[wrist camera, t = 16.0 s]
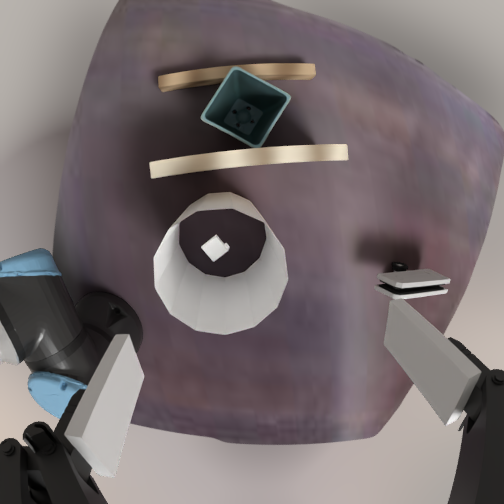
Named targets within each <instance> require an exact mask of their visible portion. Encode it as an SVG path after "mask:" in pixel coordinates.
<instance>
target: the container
mask: <svg viewBox="0 0 504 504" xmlns="http://www.w3.org/2000/svg"><path fill="white" fill-rule="evenodd" d="M232 208H233V209H235V210H237V211H239V212H242V213H244V214H246V215H248V216H251V217H253V218H255V219H257V220H260V221H262V222H264V226H265V232H266V241H265V244H264V247H263V250H262V252H261V255H260V258H259V259H258V260H257V261H256V262H254V263H253V264H252V265H251V266H250V267H249V268H248V269H247V270H246V271H245V272H242V273H238V274H235V275H232V276H228V277H220V276H213V275H207V274H204V273H203V272H201V271H200V270H199V269H197V268H196V267H194V266H193V265H192V264H190V263H189V262H188V260H187V258H186V256H185V255H184V253H183V251H182V249H181V247H180V245H179V223H180V222H181V221H182V220H184V219H185V218H187V217H188V216H190V215H192V214H193V213H195V212H196V211H203V210H217V209H232ZM201 248H202V249H203V250H204V252H205V253H206V254H207V255H208V256H209V257H210V259H211V260H212V261H213V262H214V261H216V260H217V259H218V258H219V257H221V256H222V255H223V254H225V253H226V252H227V251H229V248H230V247H229V245H228V244H227V243H225V244H224V243H223V242H222V240H221V239H220V238H219V237H218V236H217V234H216V235H215V236H214V237H212V238H211V239H210V240H209V241H207V242H206V243H205V244H204V245H202V246H201ZM154 280H155V289H156V291H157V293H158V294H159V296H160V298H161V299H162V301H163V303H164V304H165V306H166V308H167V309H168V311H169V313H170V314H171V315H173V316H174V317H176V318H177V319H179V320H180V321H182V322H183V323H185V324H186V325H188V326H189V327H191V328H193V329H194V330H196V331H202V332H209V333H216V334H223V335H227V334H231V333H235V332H238V331H242V330H245V329H249V328H252V327H255V326H256V325H257V324H259V323H260V322H261V321H262V320H263V319H264V318H266V317H267V316H268V315H269V314H270V313H271V312H272V311H274V310H275V309H276V308H277V307H278V304H279V302H280V299H281V297H282V294H283V292H284V289H285V287H286V284H287V282H288V273H287V265H286V258H285V250H284V248H283V246H282V245H281V243H280V242H279V240H278V239H277V237H276V236H275V234H274V233H273V231H272V230H271V228H270V227H269V226H268V224H267V223H266V221H265V220H264V218H263V217H262V216H261V214H260V213H259V212H258V210H257V209H256V208H255V206H254V205H253V204H252V202H251V201H249V200H247V199H245V198H243V197H241V196H238V195H236V194H234V193H232V192H221V193H208V194H207V195H205V196H203V197H202V198H200V199H198V200H197V201H195V202H194V203H192V204H190V205H189V206H188V208H187V209H186V210H185V211H184V212H183V213H182V214H181V215H180V217H179V218H178V219H177V220H176V221H175V222H174V224H173V225H172V226H171V227H170V228H169V229H168V231H167V233H166V235H165V237H164V239H163V241H162V243H161V244H160V246H159V248H158V250H157V252H156V254H155V256H154Z"/></svg>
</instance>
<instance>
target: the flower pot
mask: <svg viewBox="0 0 504 504" xmlns="http://www.w3.org/2000/svg"><path fill="white" fill-rule="evenodd" d="M290 99H291V96H290V95H289V94H288V93H286V92H284V91H282V90H281V89H279V88H277V87H275V86H273V85H271V84H270V83H268V82H266V81H264V80H262V79H260V78H259V77H257V76H255V75H253V74H251V73H249V72H247V71H245V70H244V69H242V68H240V67H237V66H233V67H232V68H231V70H230V71H229V73H228V74H227V76H226V77H225V79H224V80H223V82H222V83H221V85H220V87H219V88H218V89H217V91H216V93H215V94H214V96H213V97H212V99H211V101H210V102H209V104H208V105H207V107H206V108H205V110H204V111H203V113H202V115H201V120H202V121H204V122H206V123H208V124H210V125H212V126H214V127H216V128H218V129H220V130H222V131H223V132H225V133H227V134H229V135H231V136H233V137H235V138H236V139H238V140H240V141H242V142H244V143H245V144H247V145H249V146H250V147H252V148H261V147H262V145H263V143H264V142H265V140H266V138H267V136H268V135H269V133H270V131H271V130H272V128H273V126H274V125H275V123H276V121H277V120H278V118H279V117H280V115H281V114H282V112H283V110H284V109H285V107H286V106H287V104H288V103H289V101H290ZM247 107H250V110H247ZM234 110H235V111H236V113H233V111H234ZM251 120H253V121H254V123H251ZM237 124H240V126H239V127H238V126H237Z"/></svg>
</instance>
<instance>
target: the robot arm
mask: <svg viewBox="0 0 504 504" xmlns="http://www.w3.org/2000/svg"><path fill="white" fill-rule="evenodd" d="M61 276H62V274H61V272H59V270H58V268H57V266H56V264H55V262H54V259H53V257H52V255H51V253H50V252H49V251H48V250H46V249H42V248H39V249H36V250H32V251H29V252H26V253H23V254H20V255H17V256H14V257H12V258H9V259H6V260H4V261H1V262H0V364H1V363H9V364H13V365H18V364H19V363H21V362H22V361H23V360H24V361H25V363H26V364H27V366H28V367H29V369H30V370H31V372H32V374H31V375H30V376H29V378H28V379H29V380H28V389H29V392H30V394H31V396H32V397H33V398H34V400H35V401H36V402H37V403H38V404H39V405H40V406H41V407H42V408H44V410H46V411H47V412H49V413H50V414H52V415H53V416H55V417H57V418H59V419H60V420H59V422H58V424H57V426H56V428H55V430H54V432H53V431H52V429H51V428H50V427H49V425H48V424H46V423H45V422H39V421H38V422H34V423H32V424H30V425H29V426H28V427H27V428H26V429H25V431H24V433H23V440H24V441H25V442H26V444H27V445H28V446H22V445H21V444H20V443H19V442H18V441H17V440H16V439H14V438H8V439H5V440H4V441H2V442H1V444H0V504H108V503H107V501H106V500H105V498H104V496H103V495H102V493H101V491H100V490H99V488H98V486H97V484H96V483H95V481H94V479H93V478H92V476H91V475H90V472H91V469H93V470H94V471H95V472H96V473H97V474H98V475H101V476H106V477H112V478H115V476H116V472H117V468H118V464H119V460H120V457H121V452H122V449H123V445H124V442H125V438H126V434H127V431H128V427H129V424H130V421H131V418H132V414H133V411H134V408H135V404H136V401H137V398H138V395H139V392H140V388H141V385H142V382H143V379H144V374H143V371H142V369H141V366H140V363H139V361H138V358H137V355H136V353H137V352H138V350H139V348H140V345H141V343H142V339H143V329H142V325H141V322H140V320H139V318H138V316H137V314H136V313H135V312H134V310H133V309H132V308H131V307H130V306H129V305H128V304H127V303H126V302H125V301H123V300H122V299H120V298H118V297H117V296H115V295H112V294H109V293H105V292H93V293H89V294H87V295H85V296H84V297H83V298H82V299H81V300H80V301H79V302H78V303H77V304H76V305H75V306H74V304H73V302H72V300H71V297H70V295H69V293H68V291H67V288H66V286H65V284H64V282H63V279H62V277H61ZM384 345H385V347H386V348H387V349H388V350H389V352H390V353H391V354H392V355H393V357H394V358H395V359H396V361H397V362H398V363H399V364H400V366H401V367H402V368H403V370H404V371H405V372H406V373H407V375H408V376H409V377H410V379H411V380H412V381H413V383H414V384H415V385H416V386H417V388H418V389H419V391H420V392H421V393H422V395H423V396H424V397H425V398H426V400H427V401H428V403H429V404H430V405H431V407H432V408H433V409H434V411H435V412H436V414H437V415H438V416H439V418H440V419H441V420H442V422H443V423H444V425H445V426H446V425H448V424H450V423H452V422H454V421H456V420H458V419H459V417H460V415H461V413H462V412H463V410H464V411H465V412H466V413H467V415H466V417H465V419H464V420H463V422H462V424H461V426H460V428H459V430H458V431H460V430H461V429H462V428H463V426H464V429H463V437H462V443H461V449H460V455H459V460H458V465H457V470H456V474H455V478H454V483H453V486H452V490H451V494H450V498H449V501H448V504H504V371H503V370H499V369H493V370H489V369H488V368H487V367H486V366H485V365H484V364H483V363H482V362H481V361H480V360H479V359H478V358H477V357H476V356H475V355H474V354H471V352H470V351H469V350H468V349H466V347H465V346H464V345H463V344H462V343H461V342H459V341H457V340H455V339H453V338H451V337H450V338H448V339H447V338H446V337H445V336H444V335H443V334H442V333H441V332H439V331H438V330H437V329H436V328H435V327H434V326H433V325H432V324H431V323H429V322H428V321H427V320H426V319H425V318H424V317H423V316H422V315H421V314H419V313H418V312H417V311H416V310H415V309H414V308H413V307H411V306H410V305H409V304H408V303H407V302H406V301H404V300H403V299H402V298H401V299H396V300H391V301H390V304H389V312H388V319H387V326H386V332H385V339H384Z"/></svg>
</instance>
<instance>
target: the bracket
mask: <svg viewBox="0 0 504 504" xmlns="http://www.w3.org/2000/svg"><path fill="white" fill-rule="evenodd" d="M392 267H393V270H394V272H391V273H380V274H378V275H377V279H379V280H380V281H381V282H383V283H385V284H380V285H375V290H377V291H379V292H381V293H383V294H385V295H387V296H389V297H391V298H393V299H401V298H402V299H408V298H416V297H423V296H431V295H437V294H444V293H447V291H448V289H446V288H444V287H442V286H440V285H445V284H447V283H450V279H449V278H447V277H445V276H443V275H441V274H439V273H437V272H435V271H433V270H431V269H421V270H412V271H406V269H408V266H407V265H406V264H404V263H400V262H393V263H392Z"/></svg>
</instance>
